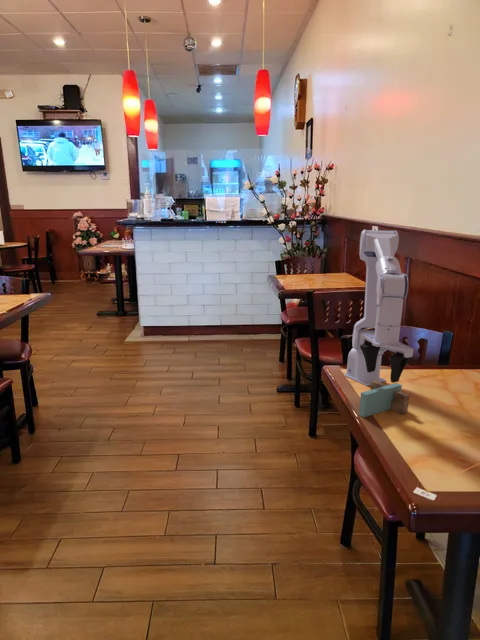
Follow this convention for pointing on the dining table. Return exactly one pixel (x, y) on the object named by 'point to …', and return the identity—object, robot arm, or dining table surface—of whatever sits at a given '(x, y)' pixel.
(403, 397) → the walnut slotted plate
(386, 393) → the teal slotted plate
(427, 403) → the dining table surface
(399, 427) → the dining table surface
